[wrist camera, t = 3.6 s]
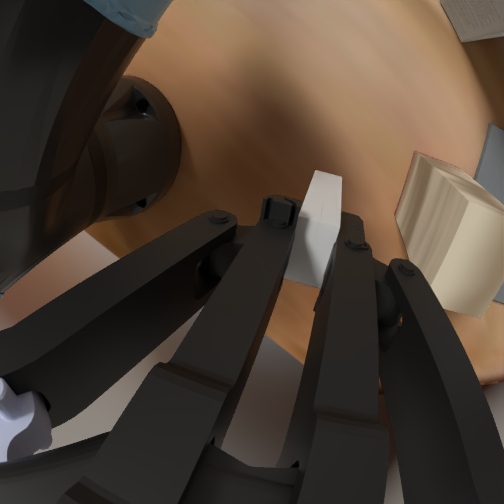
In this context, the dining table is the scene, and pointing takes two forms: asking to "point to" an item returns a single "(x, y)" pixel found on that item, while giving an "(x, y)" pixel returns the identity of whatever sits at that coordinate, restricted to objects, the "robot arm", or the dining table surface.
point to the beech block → (452, 234)
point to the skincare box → (475, 18)
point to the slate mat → (493, 173)
